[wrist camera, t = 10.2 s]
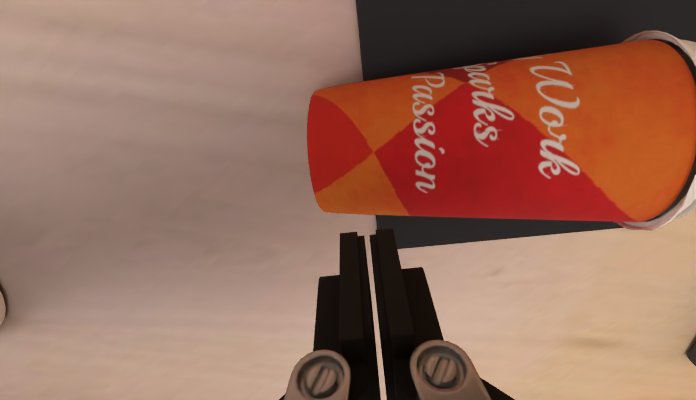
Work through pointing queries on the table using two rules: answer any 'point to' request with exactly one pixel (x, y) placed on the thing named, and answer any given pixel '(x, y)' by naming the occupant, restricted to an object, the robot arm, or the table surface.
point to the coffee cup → (517, 138)
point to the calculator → (692, 354)
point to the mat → (491, 46)
